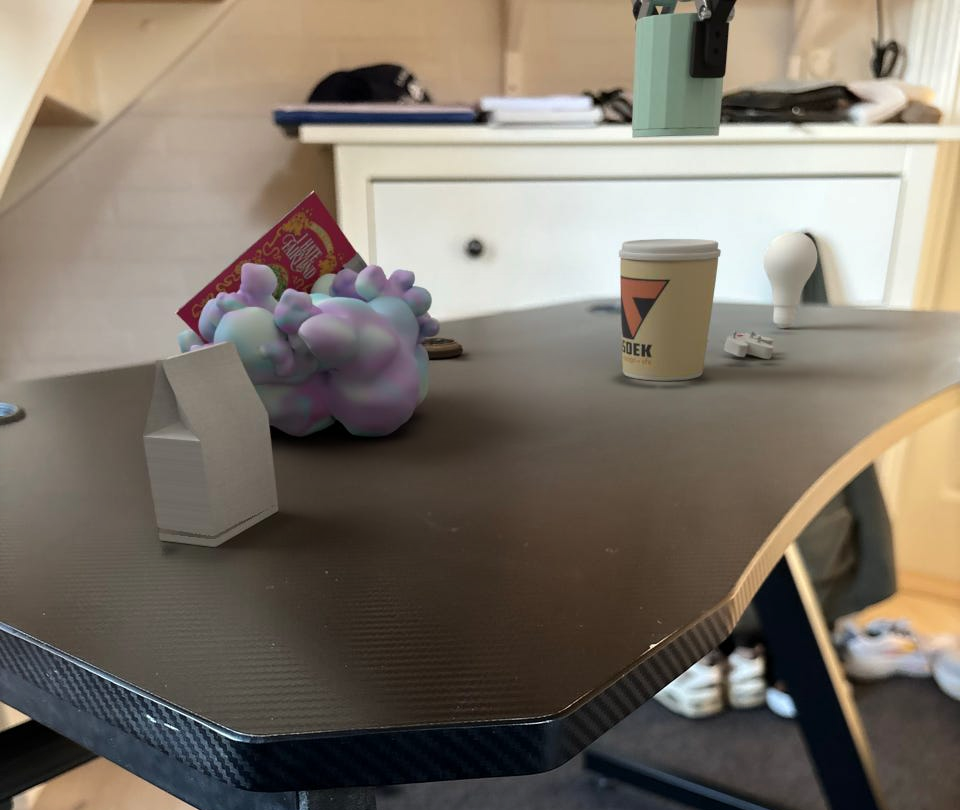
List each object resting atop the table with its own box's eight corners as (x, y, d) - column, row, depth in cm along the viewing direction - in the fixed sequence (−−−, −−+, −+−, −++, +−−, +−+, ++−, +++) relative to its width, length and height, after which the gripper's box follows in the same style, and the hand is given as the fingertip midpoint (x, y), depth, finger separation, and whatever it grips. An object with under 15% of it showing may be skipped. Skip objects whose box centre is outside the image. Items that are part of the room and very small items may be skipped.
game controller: (766, 362, 103) (768, 335, 102) (659, 355, 108) (660, 330, 107) (780, 353, 107) (782, 327, 106) (676, 347, 113) (678, 323, 111)
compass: (458, 360, 108) (456, 288, 104) (386, 359, 109) (382, 288, 106) (470, 347, 115) (469, 280, 112) (402, 347, 116) (399, 280, 113)
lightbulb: (815, 326, 124) (826, 230, 119) (800, 333, 119) (812, 233, 115) (766, 323, 127) (775, 229, 122) (750, 330, 122) (759, 232, 118)
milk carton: (278, 510, 61) (260, 341, 57) (215, 547, 56) (189, 362, 51) (226, 505, 63) (204, 339, 58) (159, 540, 57) (130, 359, 53)
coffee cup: (598, 369, 101) (601, 241, 96) (679, 362, 104) (687, 237, 99) (643, 386, 93) (650, 247, 88) (730, 377, 96) (741, 242, 91)
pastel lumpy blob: (310, 410, 65) (384, 148, 65) (75, 371, 74) (141, 141, 74) (446, 494, 83) (504, 289, 84) (244, 454, 92) (297, 270, 93)
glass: (718, 136, 92) (727, 22, 88) (718, 135, 85) (728, 10, 82) (635, 138, 94) (640, 26, 90) (628, 137, 87) (633, 15, 83)
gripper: (804, -199, 74) (777, 74, 82) (674, -138, 89) (662, 89, 96) (718, -210, 72) (699, 72, 79) (599, -146, 86) (592, 88, 94)
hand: (678, 80), depth 88 cm, fingers closed on glass, 7 cm apart
